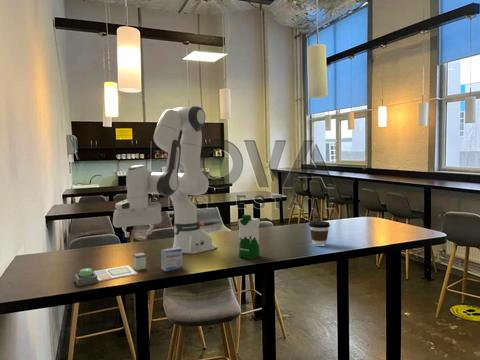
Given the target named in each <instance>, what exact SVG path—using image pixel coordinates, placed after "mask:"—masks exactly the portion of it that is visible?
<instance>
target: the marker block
mask: <svg viewBox="0 0 480 360" xmlns="http://www.w3.org/2000/svg"><path fill="white" fill-rule="evenodd" d="M146 257H147V255H146V254H145V253H144V252H138V253H133V257H132V258H133V268H134V270H136V271H140V270H145V269H147V262H146V261H147V260H146Z"/></svg>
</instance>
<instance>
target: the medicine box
mask: <svg viewBox="0 0 480 360" xmlns="http://www.w3.org/2000/svg"><path fill="white" fill-rule="evenodd" d="M160 263H161V270H163V271H164V272H171V271H176V270H180V269H183V253H182V249H181V248H179V247H174V248H173V247H169V248H168V247H167V248H164V249H163V248H162V249H160Z"/></svg>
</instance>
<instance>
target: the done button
mask: <svg viewBox="0 0 480 360" xmlns="http://www.w3.org/2000/svg"><path fill="white" fill-rule="evenodd" d="M92 271H93V269H92V268H89V267H88V268H87V267H86V268H82V269H79V274H80V278H85V277H91V276H92Z"/></svg>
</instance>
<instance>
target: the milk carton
mask: <svg viewBox="0 0 480 360" xmlns="http://www.w3.org/2000/svg"><path fill="white" fill-rule="evenodd" d="M260 222H261V219H260V218H255V217H252V215H251V214H242V217H241V218H239V219H237V224H238V243H239V245H238V247H239V248H238V258H239V257H243V258H242V259H244V258H249V259H248V260H250V259H252V260H254V259H253V258H255V257H257V256H259V255H260V239H259V238H260V237H259V235H260V231H259V229H260ZM259 257H260V256H259ZM257 258H258V257H257ZM255 259H256V258H255Z"/></svg>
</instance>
